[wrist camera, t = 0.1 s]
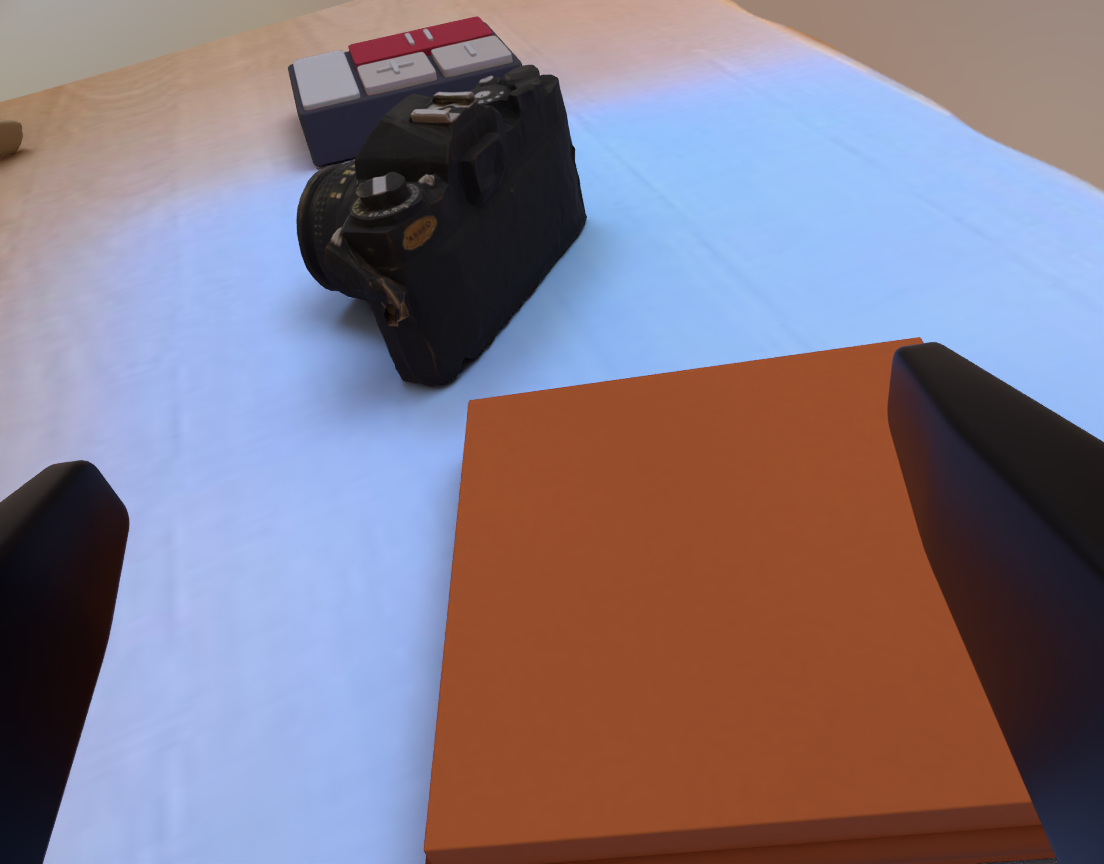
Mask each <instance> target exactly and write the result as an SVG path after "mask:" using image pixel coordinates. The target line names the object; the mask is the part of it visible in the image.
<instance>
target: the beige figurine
mask: <svg viewBox="0 0 1104 864" xmlns="http://www.w3.org/2000/svg"><path fill="white" fill-rule="evenodd" d="M22 138H23V133H22V125H21V123H19V122H17V121H14V120H0V155H3V154H13V153H15V152H16V151H17V150H18V148H19V146H20V144H21V141H22Z"/></svg>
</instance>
